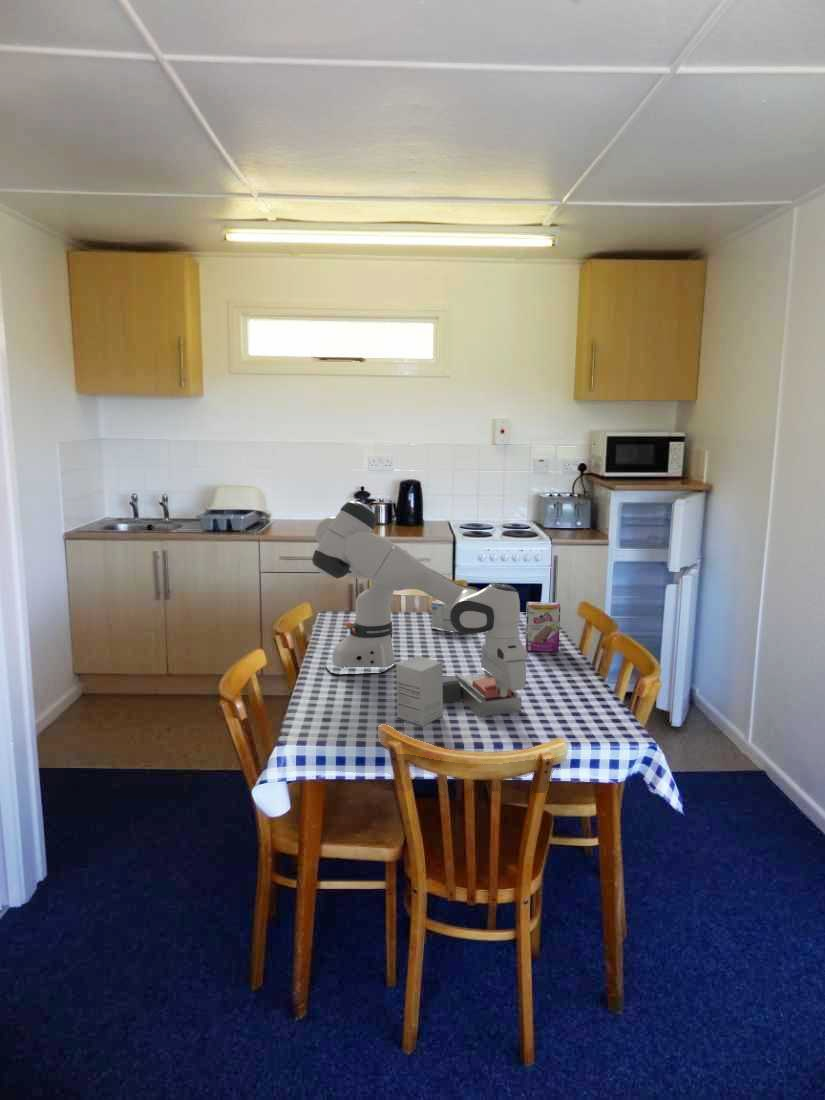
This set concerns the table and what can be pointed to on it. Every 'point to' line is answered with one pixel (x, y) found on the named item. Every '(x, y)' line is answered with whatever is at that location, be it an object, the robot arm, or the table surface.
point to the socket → (483, 704)
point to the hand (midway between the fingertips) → (501, 695)
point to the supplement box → (419, 690)
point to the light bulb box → (441, 616)
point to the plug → (451, 689)
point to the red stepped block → (488, 687)
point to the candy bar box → (542, 627)
